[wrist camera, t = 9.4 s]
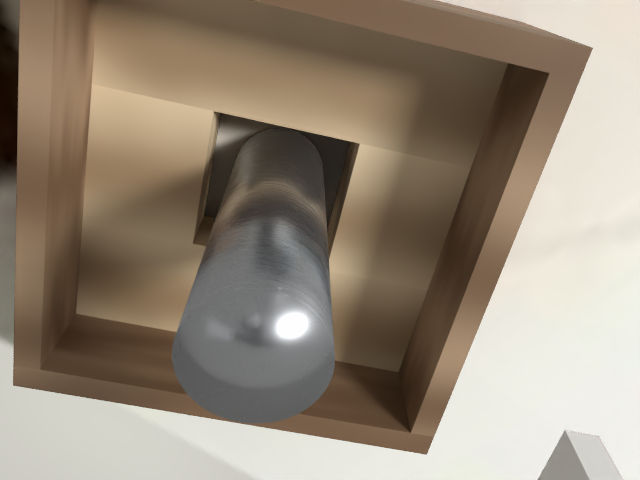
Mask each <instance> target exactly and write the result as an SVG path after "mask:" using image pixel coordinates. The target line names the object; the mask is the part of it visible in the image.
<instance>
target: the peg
mask: <svg viewBox="0 0 640 480" xmlns="http://www.w3.org/2000/svg"><path fill="white" fill-rule="evenodd" d="M172 363H173V368H174V372H175V374H176V377H177V379H178V381H179V383H180V385H181V386H182V388H183V389H184V390H185V392H186V393H187V394H188V395H189V396H190V397H191V398H192V399H193V400H194V401H195V402H196V403H197V404H199V405H200V406H201V407H203V408H204V409H206V410H208V411H209V412H211V413H213V414H215V415H217V416H220V417H222V418H225V419H229V420H232V421H237V422H243V423H270V422H275V421H280V420H283V419H287V418H290V417H292V416H294V415H297V414H299V413H300V412H302V411H304V410H306V409H307V408H308V407H310V406H311V405H312V404H314V403H315V402H316V401H317V400H318V399H319V398H320V397H321V395H322V394H323V393H324V391H325V390H326V388H327V387H328V385H329V383H330V381H331V378H332V375H333V371H334V365H335V352H334V335H333V319H332V302H331V286H330V269H329V253H328V237H327V220H326V204H325V187H324V171H323V163H322V159H321V156H320V154H319V152H318V150H317V148H316V147H315V146H314V144H313V143H312V142H311V141H310V140H309V139H307V138H306V137H305V136H303V135H302V134H300V133H298V132H295V131H293V130H289V129H284V128H273V129H267V130H264V131H261V132H259V133H257V134H255V135H253V136H252V137H251V138H249V139H248V140H247V141H246V142H245V143H244V145H243V146H242V147H241V149H240V151H239V153H238V155H237V158H236V161H235V164H234V167H233V170H232V173H231V175H230V178H229V181H228V184H227V187H226V190H225V193H224V196H223V199H222V202H221V204H220V207H219V210H218V213H217V216H216V219H215V222H214V225H213V228H212V231H211V233H210V236H209V239H208V242H207V245H206V248H205V251H204V254H203V257H202V260H201V262H200V265H199V268H198V271H197V274H196V277H195V280H194V283H193V286H192V289H191V291H190V294H189V297H188V300H187V303H186V306H185V309H184V312H183V315H182V318H181V320H180V323H179V326H178V329H177V332H176V335H175V338H174V342H173V346H172Z"/></svg>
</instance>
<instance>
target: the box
mask: <svg viewBox="0 0 640 480" xmlns="http://www.w3.org/2000/svg"><path fill="white" fill-rule="evenodd" d="M592 49H593V48H591V47H589V46H586V45H583V44H580V43H578V42H575V41H572V40H569V39H567V38H564V37H561V36H558V35H556V34H553V33H550V32H547V31H545V30H542V29H539V28H536V27H534V26H531V25H528V24H525V23H523V22H519V21H515V20H511V19H507V18H503V17H499V16H495V15H491V14H487V13H483V12H479V11H475V10H472V9H468V8H464V7H460V6H456V5H452V4H448V3H444V2H440V1H436V0H20V20H19V78H18V136H17V195H16V253H15V311H14V369H13V385H14V386H20V387H26V388H32V389H39V390H44V391H50V392H56V393H62V394H68V395H74V396H80V397H86V398H92V399H98V400H104V401H110V402H116V403H122V404H128V405H134V406H140V407H146V408H152V409H158V410H164V411H169V412H175V413H181V414H187V415H193V416H199V417H205V418H211V419H217V420H223V421H229V422H235V423H241V424H247V425H253V426H259V427H265V428H271V429H277V430H283V431H289V432H295V433H301V434H307V435H313V436H319V437H325V438H331V439H337V440H343V441H349V442H355V443H361V444H367V445H373V446H379V447H385V448H391V449H397V450H403V451H409V452H415V453H421V454H427V453H428V450H429V448H430V445H431V443H432V440H433V438H434V435H435V433H436V431H437V428H438V426H439V423H440V421H441V418H442V416H443V413H444V411H445V408H446V406H447V404H448V401H449V399H450V396H451V394H452V391H453V389H454V386H455V384H456V382H457V379H458V377H459V374H460V372H461V369H462V367H463V364H464V362H465V360H466V357H467V355H468V352H469V350H470V347H471V345H472V342H473V340H474V337H475V335H476V333H477V330H478V328H479V325H480V323H481V320H482V318H483V315H484V313H485V311H486V308H487V306H488V303H489V301H490V298H491V296H492V293H493V291H494V289H495V286H496V284H497V281H498V279H499V276H500V274H501V271H502V269H503V267H504V264H505V262H506V259H507V257H508V254H509V252H510V249H511V247H512V244H513V242H514V240H515V237H516V235H517V232H518V230H519V227H520V225H521V222H522V220H523V218H524V215H525V213H526V210H527V208H528V205H529V203H530V200H531V198H532V196H533V193H534V191H535V188H536V186H537V183H538V181H539V178H540V176H541V174H542V171H543V169H544V166H545V164H546V161H547V159H548V156H549V154H550V151H551V149H552V147H553V144H554V142H555V139H556V137H557V134H558V132H559V129H560V127H561V125H562V122H563V120H564V117H565V115H566V112H567V110H568V107H569V105H570V103H571V100H572V98H573V95H574V93H575V90H576V88H577V85H578V83H579V81H580V78H581V76H582V73H583V71H584V68H585V66H586V63H587V61H588V58H589V56H590V54H591V51H592ZM221 113H224V114H229V115H233V116H238V117H242V118H247V119H251V120H256V121H260V122H265V123H269V124H274V125H278V126H283V127H287V128H292V129H296V130H301V131H305V132H310V133H314V134H319V135H323V136H328V137H332V138H337V139H341V140H346V141H350V145H349V149H348V153H347V157H346V161H345V165H344V168H343V172H342V176H341V180H340V184H339V188H338V192H337V195H336V199H335V203H334V207H333V211H332V215H331V218H330V222H329V226H328V230H327V237H328V253H329V269H330V286H331V302H332V319H333V335H334V352H335V365H334V371H333V375H332V378H331V381H330V383H329V385H328V387H327V388H326V390H325V391H324V393H323V394H322V395H321V397H320V398H319V399H318V400H317V401H316V402H315V403H314V404H312V405H311V406H310V407H308V408H307V409H306V410H304V411H302V412H300V413H299V414H297V415H294V416H292V417H290V418H287V419H283V420H280V421H275V422H270V423H243V422H237V421H232V420H229V419H225V418H222V417H220V416H217V415H215V414H213V413H211V412H209V411H208V410H206V409H204V408H203V407H201V406H200V405H199V404H197V403H196V402H195V401H194V400H193V399H192V398H191V397H190V396H189V395H188V394H187V393H186V392H185V390H184V389H183V388H182V386H181V385H180V383H179V381H178V379H177V377H176V374H175V372H174V368H173V363H172V346H173V342H174V338H175V335H176V332H177V329H178V326H179V323H180V320H181V318H182V315H183V312H184V309H185V306H186V303H187V300H188V297H189V294H190V291H191V289H192V286H193V283H194V280H195V277H196V274H197V271H198V268H199V265H200V262H201V260H202V257H203V254H204V251H205V248H206V245H207V242H208V239H209V236H210V233H211V231H212V228H213V225H214V222H215V219H216V218H214V217H209V216H204V213H205V207H206V201H207V195H208V188H209V182H210V176H211V170H212V164H213V157H214V151H215V145H216V139H217V133H218V127H219V120H220V114H221Z"/></svg>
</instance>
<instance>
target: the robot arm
mask: <svg viewBox="0 0 640 480" xmlns="http://www.w3.org/2000/svg"><path fill="white" fill-rule="evenodd" d="M538 480H623V478H622V476H621V475H620V473H619V471H618V469H617V467H616V466H615V464H614V462H613V460H612V458H611V457H610V455H609V453H608V451H607V449H606V448H605V446H604V444H603V442H602V440H601V439H600V437H599V436H596V435H590V434H584V433H579V432H573V431H568V430H565V431H564V433H563V435H562V437H561V438H560V440H559V442H558V444H557V446H556V447H555V449H554V451H553V453H552V455H551V457H550V458H549V460H548V462H547V464H546V466H545V468H544V469H543V471H542V473H541V475H540V477H539V478H538Z"/></svg>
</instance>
